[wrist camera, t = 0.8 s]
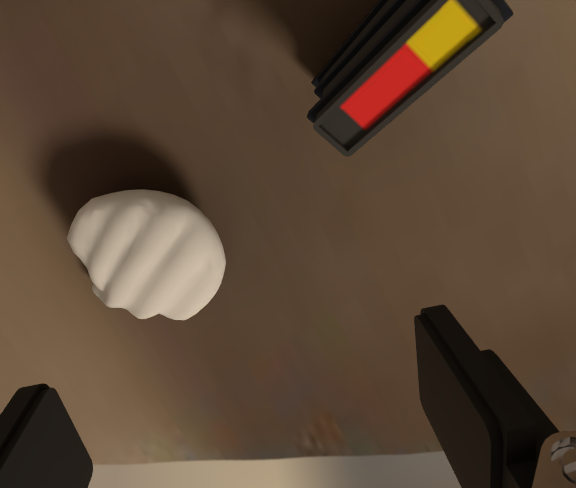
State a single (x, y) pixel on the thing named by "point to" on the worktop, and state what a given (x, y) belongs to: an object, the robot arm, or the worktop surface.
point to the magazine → (396, 63)
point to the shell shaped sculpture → (149, 253)
